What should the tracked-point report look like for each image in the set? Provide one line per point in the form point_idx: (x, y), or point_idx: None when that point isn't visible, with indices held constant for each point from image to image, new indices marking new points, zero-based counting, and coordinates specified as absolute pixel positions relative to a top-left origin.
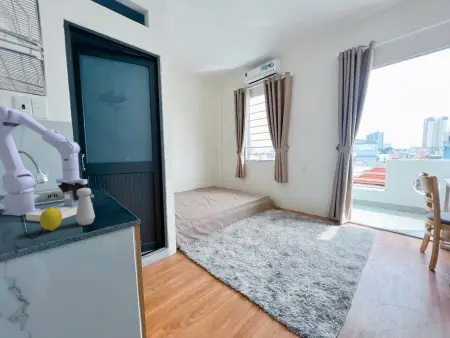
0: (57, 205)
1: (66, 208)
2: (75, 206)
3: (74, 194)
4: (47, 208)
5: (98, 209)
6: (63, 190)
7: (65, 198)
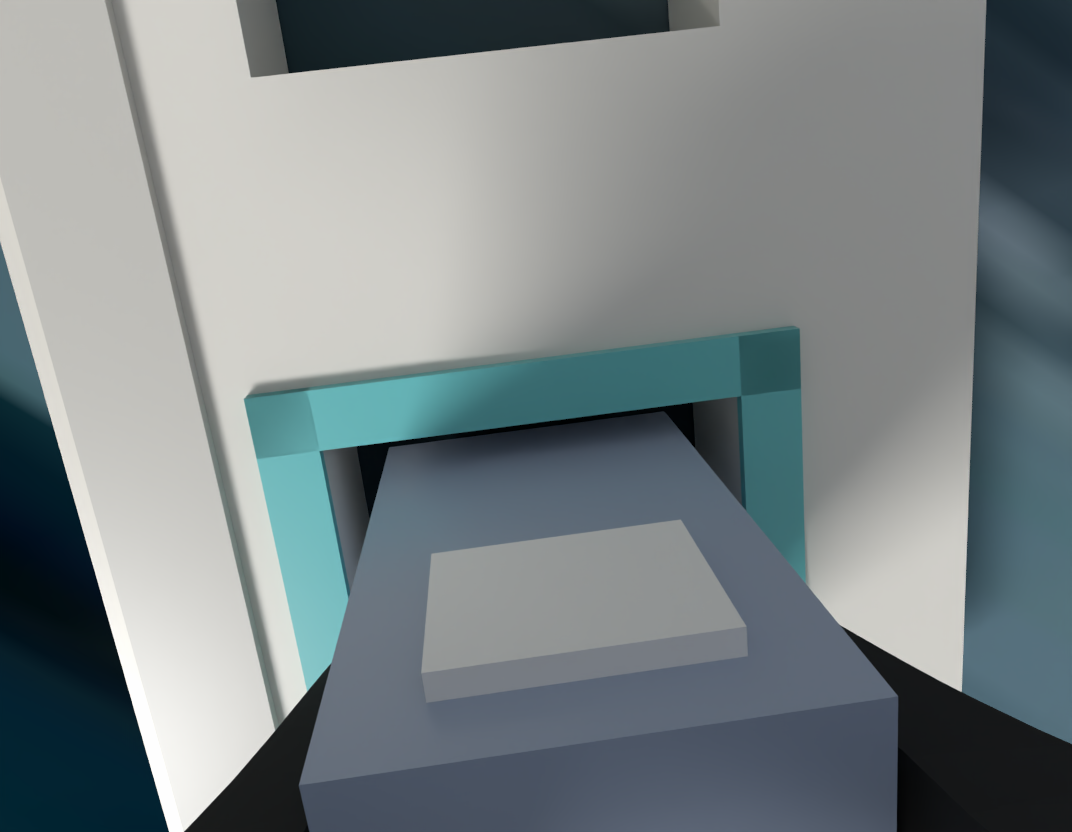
0: (957, 398)
1: (322, 263)
2: (266, 500)
3: (227, 807)
4: (934, 52)
5: (22, 787)
6: (1038, 825)
7: (650, 529)
